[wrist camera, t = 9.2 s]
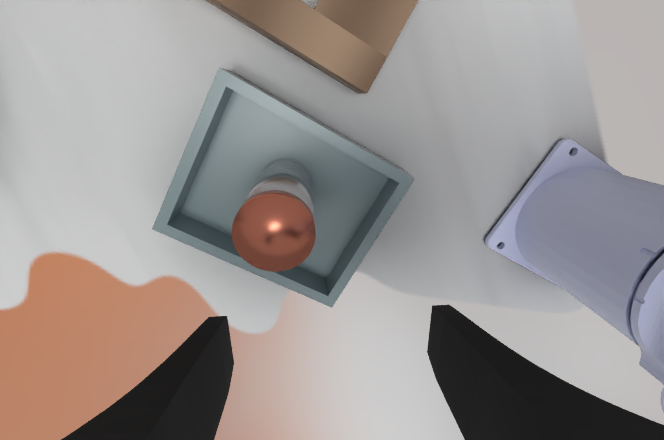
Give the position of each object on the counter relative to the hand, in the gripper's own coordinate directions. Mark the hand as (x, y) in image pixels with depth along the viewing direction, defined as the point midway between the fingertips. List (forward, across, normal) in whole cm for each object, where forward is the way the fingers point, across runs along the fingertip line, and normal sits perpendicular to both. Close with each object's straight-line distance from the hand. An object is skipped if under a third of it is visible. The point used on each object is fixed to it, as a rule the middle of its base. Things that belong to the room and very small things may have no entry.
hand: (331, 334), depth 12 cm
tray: (+10, +2, -2) cm, 11 cm away
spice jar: (+10, +2, -3) cm, 11 cm away
